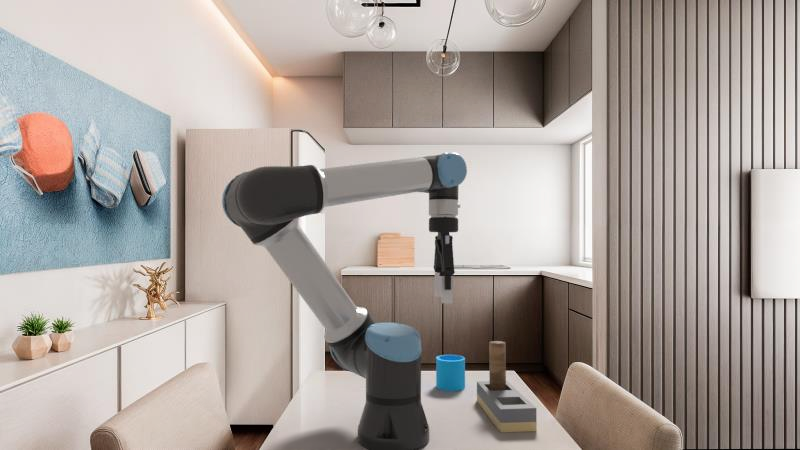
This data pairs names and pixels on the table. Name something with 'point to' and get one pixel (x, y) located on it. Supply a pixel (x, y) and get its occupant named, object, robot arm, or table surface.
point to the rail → (507, 408)
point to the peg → (497, 365)
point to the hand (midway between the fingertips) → (443, 300)
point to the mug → (450, 372)
